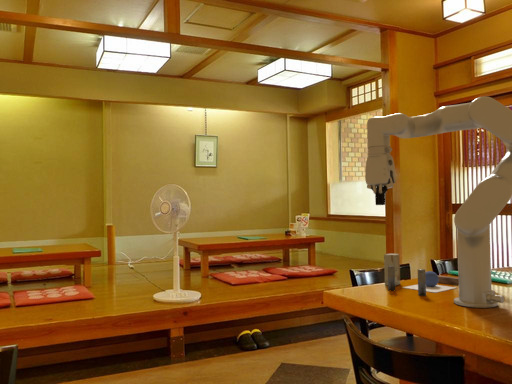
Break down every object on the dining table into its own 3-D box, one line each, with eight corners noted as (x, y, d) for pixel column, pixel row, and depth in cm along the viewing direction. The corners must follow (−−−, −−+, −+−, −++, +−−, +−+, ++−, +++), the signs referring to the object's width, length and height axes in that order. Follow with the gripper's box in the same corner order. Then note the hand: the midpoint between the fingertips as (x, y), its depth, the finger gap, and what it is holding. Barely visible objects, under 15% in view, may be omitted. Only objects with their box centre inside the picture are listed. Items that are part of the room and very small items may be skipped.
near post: (427, 295, 165) (426, 269, 165) (423, 296, 163) (422, 270, 163) (421, 294, 167) (420, 268, 167) (416, 295, 165) (416, 269, 165)
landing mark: (457, 288, 177) (457, 287, 177) (435, 292, 169) (435, 292, 169) (424, 283, 188) (424, 283, 188) (402, 287, 180) (402, 287, 180)
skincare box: (395, 286, 184) (394, 255, 184) (384, 285, 186) (383, 254, 187) (400, 284, 189) (399, 253, 189) (390, 283, 191) (389, 253, 192)
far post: (396, 290, 175) (396, 266, 176) (392, 291, 174) (391, 266, 174) (391, 289, 177) (390, 265, 178) (386, 290, 176) (386, 266, 176)
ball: (439, 269, 179) (431, 278, 176) (443, 282, 181) (434, 291, 178) (425, 267, 184) (417, 275, 181) (428, 280, 186) (420, 288, 183)
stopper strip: (471, 286, 181) (470, 279, 181) (468, 286, 179) (468, 280, 180) (434, 281, 194) (433, 274, 194) (431, 281, 192) (431, 275, 193)
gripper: (403, 150, 160) (405, 204, 160) (369, 155, 172) (370, 205, 172) (389, 149, 156) (390, 204, 155) (355, 154, 168) (356, 205, 167)
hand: (380, 204), depth 164 cm, fingers closed
